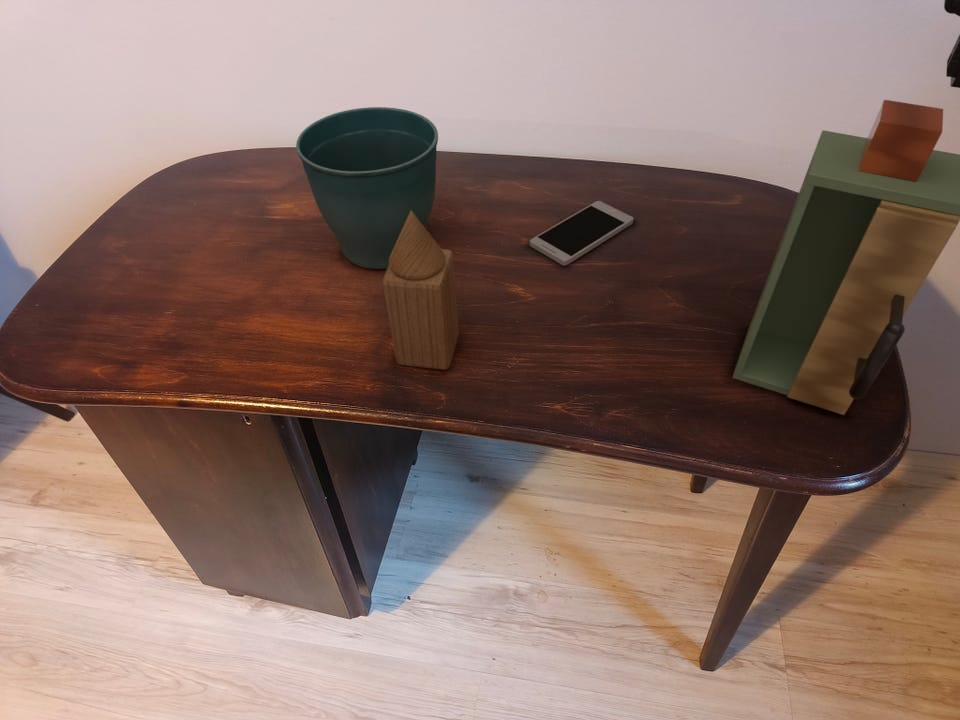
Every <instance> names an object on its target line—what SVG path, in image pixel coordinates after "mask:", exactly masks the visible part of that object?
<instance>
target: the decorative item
mask: <svg viewBox="0 0 960 720" xmlns="http://www.w3.org/2000/svg"><path fill="white" fill-rule="evenodd" d="M454 260H455V259H454V254H453V251H452V250H450V249H446V248H441V247H440V245H439V244H438V243H437V241H436V240H435V239H434V238H433V236H432V235H431V234H430V232H429V231H428V230H427V228H426V229H425V227H424V226H423V225H422V223H421V222H420V221H419V220H418V218H417V217H416V216H415V214H414V213H413V212H412V211H410V213H409V215H408V217H407V220H406V222H405V224H404V226H403V228H402V231H401V233H400V235H399V237H398V239H397V242H396V244H395V246H394V248H393V250H392V253H391V255H390V258H389V266H388V268H386V271H385V273H384V276H383V278H382V288H383V292H384V298H385V304H386V310H387V316H388V320H389V326H390V332H391V338H392V345H393V349H394V356H395V360H396V363H397V365H399V366H404V367H415V368H422V369H433V370H440V371H441V370H442V371H446V370H448V369H450V366H451V363H452V361H453V357H454V353H455V350H456V347H457V343H458V339H459V335H460V332H459V318H458V303H457V289H456V276H455V275H456V274H455V261H454Z"/></svg>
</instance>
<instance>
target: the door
mask: <svg viewBox="0 0 960 720" xmlns="http://www.w3.org/2000/svg"><path fill="white" fill-rule="evenodd" d="M956 228H957V226H956V224H955V223H950V222H945V221H941V220H936V219H931V218H926V217H922V216H917V215H912V214H907V213H903V212H898V211H893V210H888V209H884V208H879V207H877V209H876V211H875V213H874V215H873V217H872V219H871V221H870V223H869V225H868V227H867V230H866V232H865V234H864V236H863V238H862V240H861V242H860V244H859V246H858V248H857V250H856V253H855V255H854V257H853V259H852V261H851V263H850V265H849V267H848V269H847V271H846V273H845V275H844V278H843V280H842V282H841V284H840V286H839V288H838V290H837V292H836V294H835V296H834V298H833V301H832V303H831V305H830V307H829V309H828V311H827V313H826V315H825V317H824V319H823V321H822V323H821V326H820V328H819V330H818V332H817V334H816V336H815V338H814V340H813V342H812V344H811V346H810V349H809V351H808V353H807V355H806V357H805V359H804V361H803V363H802V365H801V367H800V369H799V371H798V374H797V376H796V378H795V380H794V382H793V384H792V386H791V388H790V390H789V392H788V395H786V397H787V398H789V399H792V400H795V401H798V402H801V403H804V404H808V405H810V406H814V407H817V408H820V409H823V410H827V411H830V412H832V413H836V414H839V415H842V416H845V414H846V413H847V412H848V410H849V408H850V407H851V405H852V403H853V401H854V400H862V399H864V398H865V396H866V395H867V394H868V392H869V391H870V389H871V387H872V385H873V384H874V383H875V381H876V379H877V378H878V376H879V375H880V372H881V371H882V369H883V367H884V366H885V365H886V362H887V361H888V359H889V358H890V356H891V354H892V353H893V351H894V350H895V347H896V346H897V345H898V343H899V342H900V340H901V338H902V337H903V335H904V333H905V332H906V330H905V329H906V328H905V325H904V324H903V317H904V316H905V314H906V312H907V311H908V309H909V307H910V305H911V304H912V302H913V300H914V299H915V298H916V295H917V294H918V293H919V291H920V289H921V287H922V286H923V284H924V282H925V281H926V279H927V277H928V276H929V274H930V272H931V271H932V269H933V267H934V265H935V264H936V262H937V260H938V259H939V257H940V255H942V252H943V250H944V249H945V248H946V245H947V244H948V242H949V241H950V239H951V237H952V235H953V234H954V232H955V231H956Z"/></svg>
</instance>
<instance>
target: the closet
mask: <svg viewBox="0 0 960 720" xmlns="http://www.w3.org/2000/svg"><path fill="white" fill-rule="evenodd" d="M867 138H868V137H863V136H858V135H853V134H852V135H851V134H846V133H841V132H835V131H831V130H830V131H829V130H824V129H823V130H822V131H821V132H820V136H819V138H818V141H817V144H816V147H815V149H814V152H813V154H812V157H811V160H810V163H809V166H808V167H807V170H806V173H805V175H804V179H803V181H802V184H801V187H800V189H799V192H798V195H797V196H796V197H797V198H796V200H795V203H794V206H793V207H792V210H791V214H790V216H789V218H788V220H787V221H788V222H787V224H786V227H785V230H784V233H783V235H782V237H781V241H780V244H779V246H778V249H777V251H776V253H775V257H774V259H773V262H772V265H771V267H770V270H769V272H768V275H767V278H766V280H765V284H764V286H763V289H762V292H761V295H760V297H759V300H758V303H757V306H756V308H755V310H754V313H753V316H752V318H751V320H750V324H749V327H748V330H747V332H746V335H745V338H744V341H743V344H742V347H741V350H740V353H739V356H738V359H737V362H736V364H735V367H734V371H733V374H732V377H731V378H732V379H733V380H738V381H741V382H744V383H747V384H750V385H754V386H756V387H759V388H763V389H766V390H770V391H773V392H774V393H775V392H776V393H777V394H780V395H785V396H787V395H788V392H789V390H790V388H791V386H792V384H793V382H794V380H795V378H796V376H797V374H798V371H799V369H800V367H801V365H802V363H803V361H804V359H805V357H806V355H807V353H808V351H809V349H810V346H811V344H812V342H813V340H814V338H815V336H816V334H817V332H818V330H819V328H820V326H821V323H822V321H823V319H824V317H825V315H826V313H827V311H828V309H829V307H830V305H831V303H832V301H833V298H834V296H835V294H836V292H837V290H838V288H839V286H840V284H841V282H842V280H843V278H844V275H845V273H846V271H847V269H848V267H849V265H850V263H851V261H852V259H853V257H854V255H855V253H856V250H857V248H858V246H859V244H860V242H861V240H862V238H863V236H864V234H865V232H866V230H867V227H868V225H869V223H870V221H871V219H872V217H873V215H874V213H875V211H876V209H877V207H879V208H884V209H888V210H893V211H898V212H903V213H907V214H912V215H917V216H922V217H926V218H931V219H936V220H941V221H945V222H950V223H955V224H956V227H957V226H958V225H959V223H960V154H959V153H953V152H948V151H944V150H943V151H942V150H936V149H933V151H932V153H931V155H930V157H929V159H928V161H927V163H926V165H925V167H924V169H923V171H922V172H921V174H920V176H919V178H918V180H917V182H913V181H908V180H903V179H898V178H893V177H888V176H882V175H877V174H872V173H867V172H862V171H859V166H860V161H861V157H862V152H863V148H864V145H865V143H866V141H867Z"/></svg>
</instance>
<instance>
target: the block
mask: <svg viewBox="0 0 960 720" xmlns="http://www.w3.org/2000/svg"><path fill="white" fill-rule="evenodd" d="M943 124H944V109H943V108H940V107H933V106H929V105H928V106H927V105H920V104H915V103H909V102H908V103H907V102H902V101H895V100H890V99H889V100H888V99H884V100H883V101H882V104H881V106H880V108H879V110H878V112H877V114H876V117H875V120H874V122H873V125H872V127H871V129H870V131H869V134H868V136H867V137H866V138H867V141H866V143H865V145H864V148H863V152H862V157H861V161H860V166H859V171H862V172H867V173H872V174H877V175H882V176H888V177H893V178H898V179H903V180H908V181H913V182H917V180H918V178H919V176H920V174H921V172H922V171H923V169H924V167H925V165H926V163H927V161H928V159H929V157H930V155H931V153H932V151H933V150H935V147H936V145H937V143H938V141H939V139H940V137H941V136H942V133H943Z"/></svg>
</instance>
